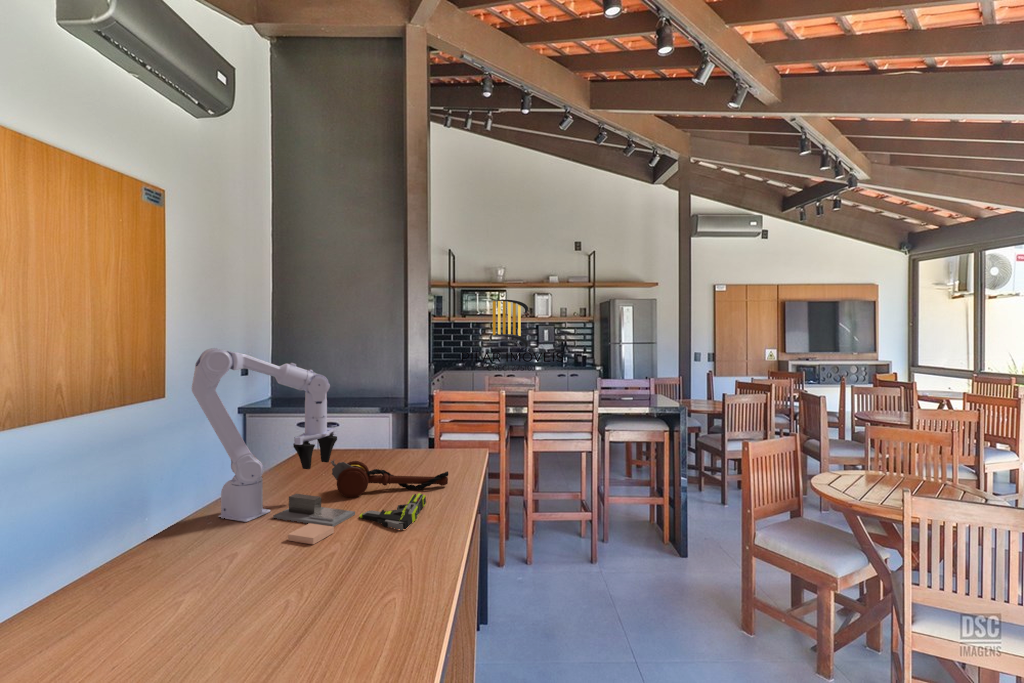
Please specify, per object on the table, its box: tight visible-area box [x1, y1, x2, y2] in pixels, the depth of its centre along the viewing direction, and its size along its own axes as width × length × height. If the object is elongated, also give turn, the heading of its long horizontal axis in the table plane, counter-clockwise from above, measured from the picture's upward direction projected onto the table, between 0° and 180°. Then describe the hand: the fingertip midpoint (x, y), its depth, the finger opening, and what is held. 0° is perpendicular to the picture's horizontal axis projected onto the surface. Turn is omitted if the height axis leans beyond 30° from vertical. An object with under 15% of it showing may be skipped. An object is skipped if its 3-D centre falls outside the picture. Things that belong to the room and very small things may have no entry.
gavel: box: [330, 458, 449, 498], centre depth 150 cm, size 10×34×10 cm
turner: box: [288, 493, 349, 521], centre depth 128 cm, size 15×6×4 cm, turn 72°
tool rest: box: [272, 506, 356, 528], centre depth 128 cm, size 18×9×1 cm, turn 72°
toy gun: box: [359, 492, 427, 530], centre depth 129 cm, size 20×4×15 cm
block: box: [287, 523, 335, 545], centre depth 115 cm, size 2×7×7 cm
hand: (316, 465), depth 139 cm, fingers open, 7 cm apart
